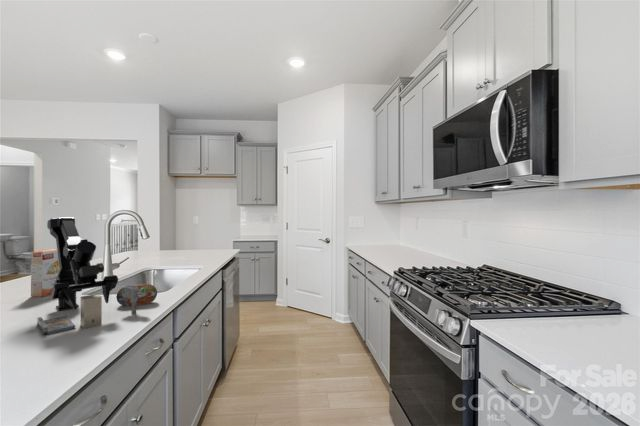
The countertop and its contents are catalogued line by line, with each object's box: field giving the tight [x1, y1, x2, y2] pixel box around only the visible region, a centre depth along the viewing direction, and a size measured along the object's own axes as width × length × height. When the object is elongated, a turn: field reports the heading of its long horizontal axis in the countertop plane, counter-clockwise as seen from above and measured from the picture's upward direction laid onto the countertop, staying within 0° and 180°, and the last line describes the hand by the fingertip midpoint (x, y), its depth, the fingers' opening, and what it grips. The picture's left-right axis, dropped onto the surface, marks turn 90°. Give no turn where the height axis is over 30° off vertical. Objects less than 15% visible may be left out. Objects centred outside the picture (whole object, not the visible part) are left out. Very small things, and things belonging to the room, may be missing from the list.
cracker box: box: [30, 248, 60, 298], centre depth 148 cm, size 14×6×21 cm, turn 179°
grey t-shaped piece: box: [120, 285, 147, 314], centre depth 122 cm, size 3×10×10 cm, turn 79°
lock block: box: [80, 293, 103, 329], centre depth 109 cm, size 5×5×10 cm
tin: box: [116, 283, 158, 307], centre depth 133 cm, size 15×3×8 cm, turn 111°
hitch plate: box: [36, 315, 76, 336], centre depth 107 cm, size 14×8×2 cm, turn 49°
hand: (92, 305), depth 108 cm, fingers open, 9 cm apart
